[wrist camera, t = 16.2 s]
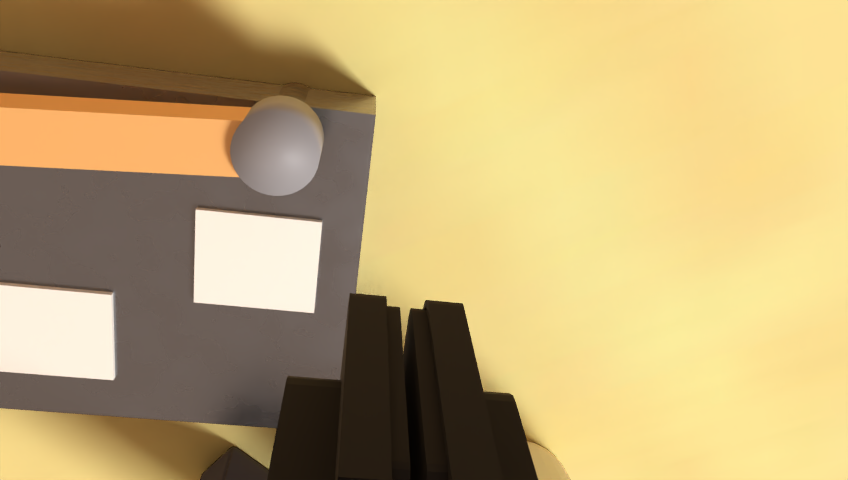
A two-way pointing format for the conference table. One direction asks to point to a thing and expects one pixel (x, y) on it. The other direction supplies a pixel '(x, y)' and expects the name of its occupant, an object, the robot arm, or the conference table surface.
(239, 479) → the grey and red box
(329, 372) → the server box
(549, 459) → the reusable coffee cup
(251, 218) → the label
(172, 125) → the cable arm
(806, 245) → the conference table surface
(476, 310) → the conference table surface
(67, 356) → the label
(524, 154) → the conference table surface
